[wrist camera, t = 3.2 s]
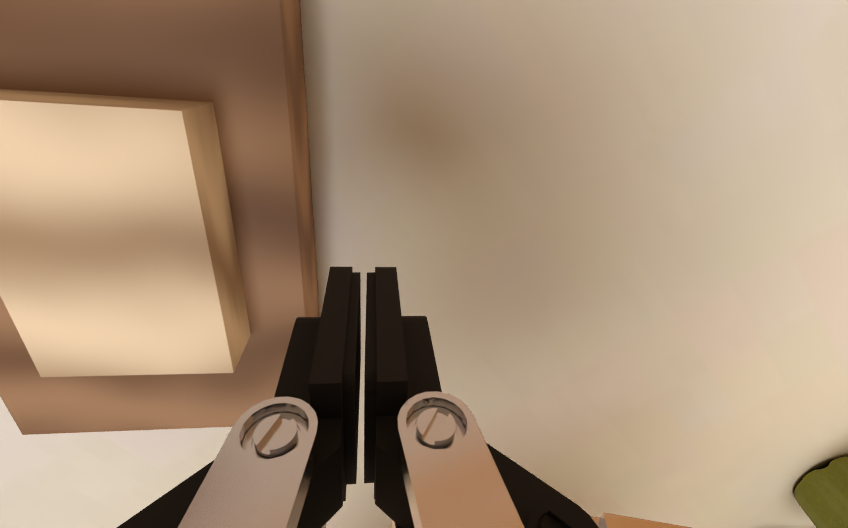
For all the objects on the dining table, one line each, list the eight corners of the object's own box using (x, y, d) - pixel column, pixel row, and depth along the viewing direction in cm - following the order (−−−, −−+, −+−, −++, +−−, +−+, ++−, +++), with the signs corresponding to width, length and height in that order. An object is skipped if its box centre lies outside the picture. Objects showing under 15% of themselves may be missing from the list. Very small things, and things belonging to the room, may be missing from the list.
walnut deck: (322, 371, 25) (313, 423, 21) (76, 376, 23) (22, 434, 19) (295, -77, 15) (269, -120, 11) (-148, -131, 13) (-347, -203, 9)
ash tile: (250, 334, 18) (233, 372, 16) (83, 336, 17) (40, 377, 15) (213, 102, 14) (181, 111, 11) (-18, 87, 13) (-101, 94, 10)
